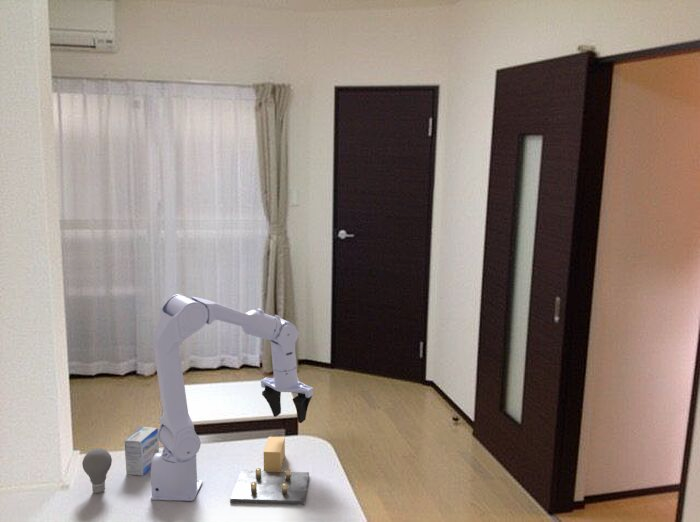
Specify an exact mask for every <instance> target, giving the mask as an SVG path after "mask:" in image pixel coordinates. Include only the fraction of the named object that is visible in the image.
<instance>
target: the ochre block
mask: <svg viewBox="0 0 700 522" xmlns="http://www.w3.org/2000/svg"><path fill="white" fill-rule="evenodd" d="M285 438H286V437H285V436H268V437H267V441H266V443H265V447H264V449H263V471H277V472H282V471H281V470H282V467H283V464H282V463H284V460H283V459H285V456H286V455H285V453H286V444H285V443H286V441H285V440H286V439H285Z"/></svg>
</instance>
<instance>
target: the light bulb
mask: <svg viewBox="0 0 700 522" xmlns="http://www.w3.org/2000/svg"><path fill="white" fill-rule="evenodd" d="M112 462H113V459H112V455H111V454H110V452H109V451H108V450H107V449H104V448H102V447H98V448H93V449H91V450H89V451H88V452H87V453H86V454H85V455H84V456H83V459H82V465H81V466H82V469H83V471H84V473H85V474H86V475H87V476H88V477H89V481H90V483H91V487H92V492H93V493H95V494H99V493H101V492H104V491H105V489H106V480H107V474H108V473H109V470H111V469H110V468H111V466H112Z"/></svg>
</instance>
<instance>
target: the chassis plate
mask: <svg viewBox="0 0 700 522" xmlns="http://www.w3.org/2000/svg"><path fill="white" fill-rule="evenodd" d="M309 478H310V472H306V471H304V472H303V471H291V469H290V468H286V469H285V471H264V470H262V469H261V468H259V467H258V468H256V469H255V470H240V473H239V475H238V478H237V480H236V483H235V486H234V488H233V489H232V490H233V491H232V493H231V496H230V498H229V502H230V504H255V505H257V504H258V505H289V506H291V505H292V506H304V505H305V501H306V495H307V490H308V486H309V485H308V483H309Z"/></svg>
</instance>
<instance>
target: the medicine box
mask: <svg viewBox="0 0 700 522" xmlns="http://www.w3.org/2000/svg"><path fill="white" fill-rule="evenodd" d="M158 431H159V429H158V428H157V427H151V426H141V427H139V429H138V430H136V431H135V432H134V433H133V434H131V436H129V437H127V438H126V439H125V440H124V455H125V457H124V458H125V470H126V475H129V476H130V475H131V476H140V477H144V476H145V475H146V474H147V473H149V471H151V464H152V460H153V457H154V455H155V454H156V453H159V452H160V447H159V445H160V444H159V443H160V441H159V439H158Z"/></svg>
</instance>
